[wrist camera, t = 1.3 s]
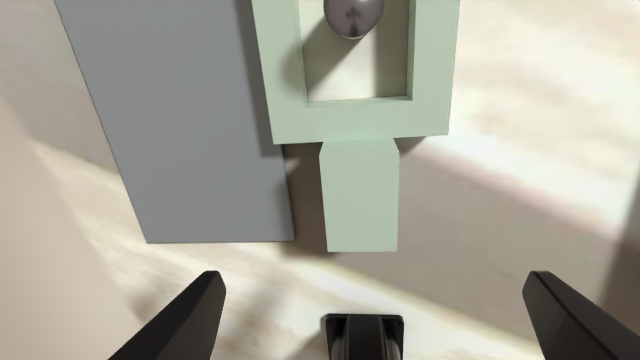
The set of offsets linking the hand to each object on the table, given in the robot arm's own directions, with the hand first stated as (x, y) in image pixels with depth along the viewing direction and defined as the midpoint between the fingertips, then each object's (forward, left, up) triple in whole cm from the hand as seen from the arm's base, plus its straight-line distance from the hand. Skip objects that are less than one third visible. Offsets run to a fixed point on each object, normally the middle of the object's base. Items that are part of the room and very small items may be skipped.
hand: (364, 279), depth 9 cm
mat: (+3, +11, -12) cm, 17 cm away
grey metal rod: (+8, 0, -12) cm, 14 cm away
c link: (+3, 0, -12) cm, 12 cm away
